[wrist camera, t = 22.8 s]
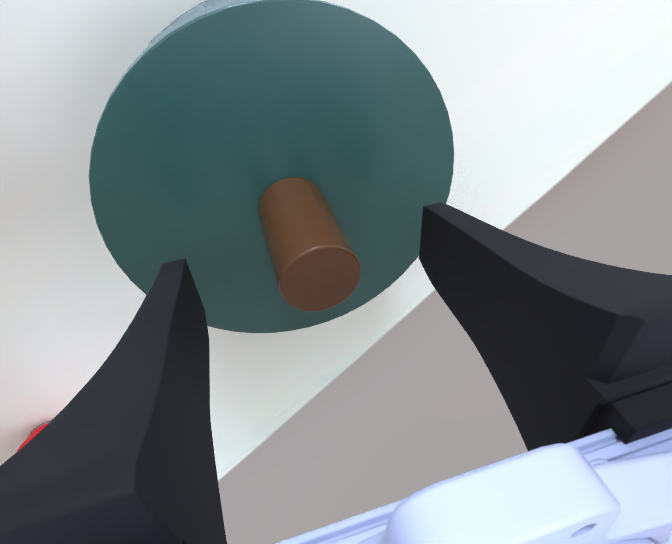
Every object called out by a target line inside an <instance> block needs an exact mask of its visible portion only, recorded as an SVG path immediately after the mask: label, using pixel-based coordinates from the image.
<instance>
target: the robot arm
mask: <svg viewBox="0 0 672 544" xmlns="http://www.w3.org/2000/svg"><path fill="white" fill-rule="evenodd" d="M419 259H420V261H421V263H422V266H423V268H424V270H425V272H426V274H427V275H428V277H429V279H430V281H431V283H432V285H433V286H434V287H435V289H436V290H437V292H438V293H439V295H440V296H441V297H442V299H443V300H444V302H445V303H446V305H447V306H448V307H449V309H450V310H451V311H452V313H453V314H454V316H455V317H456V318H457V320H458V321H459V323H460V324H461V325H462V327H463V328H464V330H465V331H466V332H467V334H468V335H469V337H470V338H471V340H472V341H473V343H474V344H475V346H476V348H477V349H478V351H479V353H480V355H481V356H482V358H483V360H484V362H485V364H486V366H487V367H488V369H489V371H490V373H491V375H492V377H493V379H494V380H495V382H496V384H497V386H498V388H499V390H500V392H501V394H502V396H503V398H504V400H505V402H506V404H507V406H508V408H509V410H510V412H511V414H512V417H513V419H514V421H515V423H516V425H517V427H518V429H519V431H520V433H521V436H522V438H523V440H524V443H525V445H526V447H527V450H528V452H525V453H522V454H519V455H516V456H513V457H510V458H507V459H504V460H501V461H499V462H496V463H493V464H490V465H487V466H484V467H481V468H478V469H475V470H472V471H469V472H466V473H463V474H460V475H457V476H454V477H451V478H449V479H446V480H443V481H440V482H437V483H435V484H432V485H430V486H428V487H426V488H424V489H421V490H419V491H417V492H415V493H413V494H412V495H410V496H409V497H408V498H406V499H403V500H400V501H397V502H394V503H391V504H388V505H385V506H383V507H380V508H377V509H374V510H371V511H368V512H365V513H362V514H359V515H356V516H353V517H351V518H348V519H345V520H342V521H339V522H336V523H333V524H330V525H327V526H324V527H321V528H319V529H316V530H313V531H310V532H307V533H304V534H301V535H298V536H295V537H292V538H289V539H287V540H284V541H281V542H278V543H275V544H672V275H664V274H656V273H649V272H643V271H637V270H632V269H626V268H620V267H615V266H611V265H606V264H601V263H598V262H594V261H589V260H585V259H581V258H578V257H574V256H570V255H567V254H564V253H561V252H558V251H554V250H551V249H548V248H545V247H542V246H540V245H537V244H534V243H531V242H529V241H526V240H524V239H521V238H519V237H517V236H514V235H512V234H509V233H507V232H505V231H502V230H500V229H498V228H496V227H494V226H492V225H489V224H487V223H485V222H483V221H481V220H479V219H477V218H475V217H473V216H471V215H468V214H466V213H464V212H462V211H460V210H458V209H456V208H454V207H451V206H449V205H447V204H444V203H442V202H440V203H436V204H431V205H427V206H423V213H422V226H421V238H420V251H419ZM0 544H227V541H226V535H225V529H224V523H223V515H222V508H221V501H220V494H219V488H218V480H217V472H216V464H215V456H214V448H213V439H212V431H211V422H210V379H209V335H208V328H207V321H206V314H205V309H204V306H203V304H202V301H201V298H200V296H199V293H198V290H197V288H196V285H195V282H194V280H193V277H192V274H191V272H190V269H189V266H188V264H187V261H186V258H185V259H180V260H175V261H171V262H166V263H163V264H162V266H161V267H160V269H159V271H158V273H157V275H156V277H155V280H154V282H153V284H152V286H151V288H150V290H149V292H148V294H147V295H146V297H145V299H144V301H143V303H142V305H141V306H140V308H139V310H138V312H137V314H136V316H135V317H134V319H133V321H132V322H131V324H130V325H129V327H128V329H127V330H126V332H125V333H124V335H123V336H122V338H121V340H120V341H119V343H118V344H117V346H116V347H115V348H114V350H113V351H112V353H111V354H110V355H109V357H108V358H107V360H106V361H105V362H104V363H103V365H102V366H101V367H100V369H99V370H98V371H97V372H96V374H95V375H94V376H93V377H92V378H91V379H90V380H89V382H88V383H87V384H86V385H85V386H84V387H83V388H82V389H81V390H80V392H79V393H78V394H77V395H76V396H75V397H74V398H73V399H72V400H71V402H70V403H69V404H68V405H67V406H66V407H65V408H64V409H63V410H62V411H61V412H60V413H59V414H58V415H57V416H56V417H55V418H54V419H53V420H52V421H51V422H50V423H49V424H48V425H47V426H45V427H44V428H43V429H42V430H41V431H40V432H39V433H38V434H37V435H36V436H35V437H34V438H33V439H31V440H30V441H29V442H28V443H27V444H26V445H25V446H24V447H22V448H21V449H20V450H19V451H18V452H16V453H15V454H14V455H13V456H12V457H11V458H9V459H8V460H7V461H6V462H5V463H3V464H2V465H1V466H0Z"/></svg>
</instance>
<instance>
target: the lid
mask: <svg viewBox="0 0 672 544" xmlns="http://www.w3.org/2000/svg"><path fill="white" fill-rule="evenodd" d="M453 162H454V147H453V134H452V129H451V124H450V120H449V115H448V111H447V108H446V106H445V103H444V100H443V98H442V95H441V92H440V90H439V89H438V87H437V85H436V83H435V81H434V80H433V78H432V76H431V74H430V72H429V71H428V70H427V68H426V67H425V66H424V64H423V63H422V62H421V61H420V59H419V58H418V57H417V56H416V54H415V53H414V52H413V51H412V50H411V49H410V48H409V47H408V46H407V45H406V44H404V43H403V42H402V41H401V40H400V39H399V38H398V37H397V36H396V35H394V34H393V33H391V32H390V31H388V30H387V29H385V28H384V27H382V26H381V25H379V24H378V23H376V22H375V21H373V20H371V19H369V18H367V17H365V16H363V15H361V14H359V13H356V12H354V11H352V10H350V9H348V8H345V7H342V6H339V5H335V4H332V3H328V2H325V1H321V0H241V1H236V2H231V3H226V4H224V5H221V6H218V7H216V8H213V9H210V10H207V11H205V12H202V13H199V14H197V15H195V16H193V17H192V18H190V19H188V20H186V21H185V22H183V23H181V24H179V25H177V26H176V27H174V28H172V29H170V30H169V31H168V32H167V33H165V34H164V35H163V36H161V37H160V38H159V39H158V40H156V41H155V42H154V43H153V44H151V45H150V46H149V47H148V48H146V49H145V51H144V52H143V53H142V54H141V55H140V56H139V57H138V58H137V59H136V60H135V61H134V63H133V64H132V65H131V66H130V67H129V68H128V69H127V70H126V72H125V73H124V75H123V76H122V78H121V79H120V81H119V82H118V84H117V85H116V87H115V89H114V90H113V92H112V93H111V95H110V97H109V99H108V102H107V104H106V106H105V108H104V111H103V113H102V115H101V117H100V120H99V122H98V125H97V129H96V133H95V137H94V141H93V145H92V149H91V157H90V169H89V183H90V195H91V203H92V207H93V211H94V215H95V219H96V223H97V226H98V228H99V231H100V233H101V235H102V238H103V240H104V242H105V245H106V246H107V248H108V250H109V251H110V253H111V255H112V256H113V258H114V259H115V261H116V263H117V264H118V265H119V267H120V268H121V269H122V270H123V271H124V273H125V274H126V275H127V276H128V277H129V279H130V280H131V281H132V282H133V283H134V284H135V285H136V286H137V287H139V288H140V289H141V290H142V291H143V292H144V293H145V294H146V295H147V294H148V292H149V290H150V288H151V286H152V284H153V282H154V280H155V277H156V275H157V273H158V271H159V269H160V267H161V266H162V264H163V263H166V262H171V261H175V260H180V259H185V258H186V261H187V264H188V266H189V269H190V272H191V274H192V277H193V280H194V282H195V285H196V288H197V290H198V293H199V296H200V298H201V301H202V304H203V306H204V309H205V314H206V321H207V326H210V327H214V328H218V329H223V330H229V331H235V332H247V333H275V332H283V331H292V330H297V329H301V328H306V327H311V326H314V325H317V324H320V323H324V322H327V321H330V320H332V319H334V318H337V317H339V316H342V315H344V314H346V313H348V312H350V311H352V310H354V309H356V308H358V307H360V306H362V305H363V304H365V303H366V302H368V301H370V300H371V299H373V298H374V297H376V296H377V295H378V294H380V293H381V292H382V291H384V290H385V289H386V288H388V287H389V286H390V285H391V284H392V283H393V282H394V281H396V280H397V279H398V278H399V277H400V276H401V275H402V274H403V273H404V272H405V271H406V270H407V269H408V268H409V266H410V265H411V264H412V263H413V262H414V261H415V260H416V258H417V257H418V256H419V251H420V238H421V226H422V213H423V206H427V205H431V204H436V203H440V202H442V203H444V204H446V202H447V198H448V195H449V191H450V186H451V181H452V175H453Z"/></svg>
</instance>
